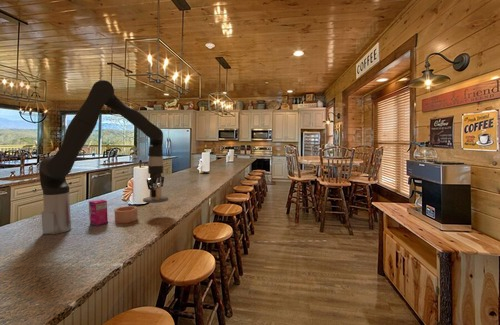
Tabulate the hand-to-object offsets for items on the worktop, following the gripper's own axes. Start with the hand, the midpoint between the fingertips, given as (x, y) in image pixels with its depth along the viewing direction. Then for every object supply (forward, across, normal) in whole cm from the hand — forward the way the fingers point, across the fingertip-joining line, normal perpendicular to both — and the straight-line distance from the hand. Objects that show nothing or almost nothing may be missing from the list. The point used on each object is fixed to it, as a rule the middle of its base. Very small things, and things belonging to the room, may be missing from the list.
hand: (155, 196), depth 133 cm
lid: (+2, 0, 0) cm, 2 cm away
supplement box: (+12, +18, -20) cm, 29 cm away
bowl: (+11, +9, -11) cm, 18 cm away
